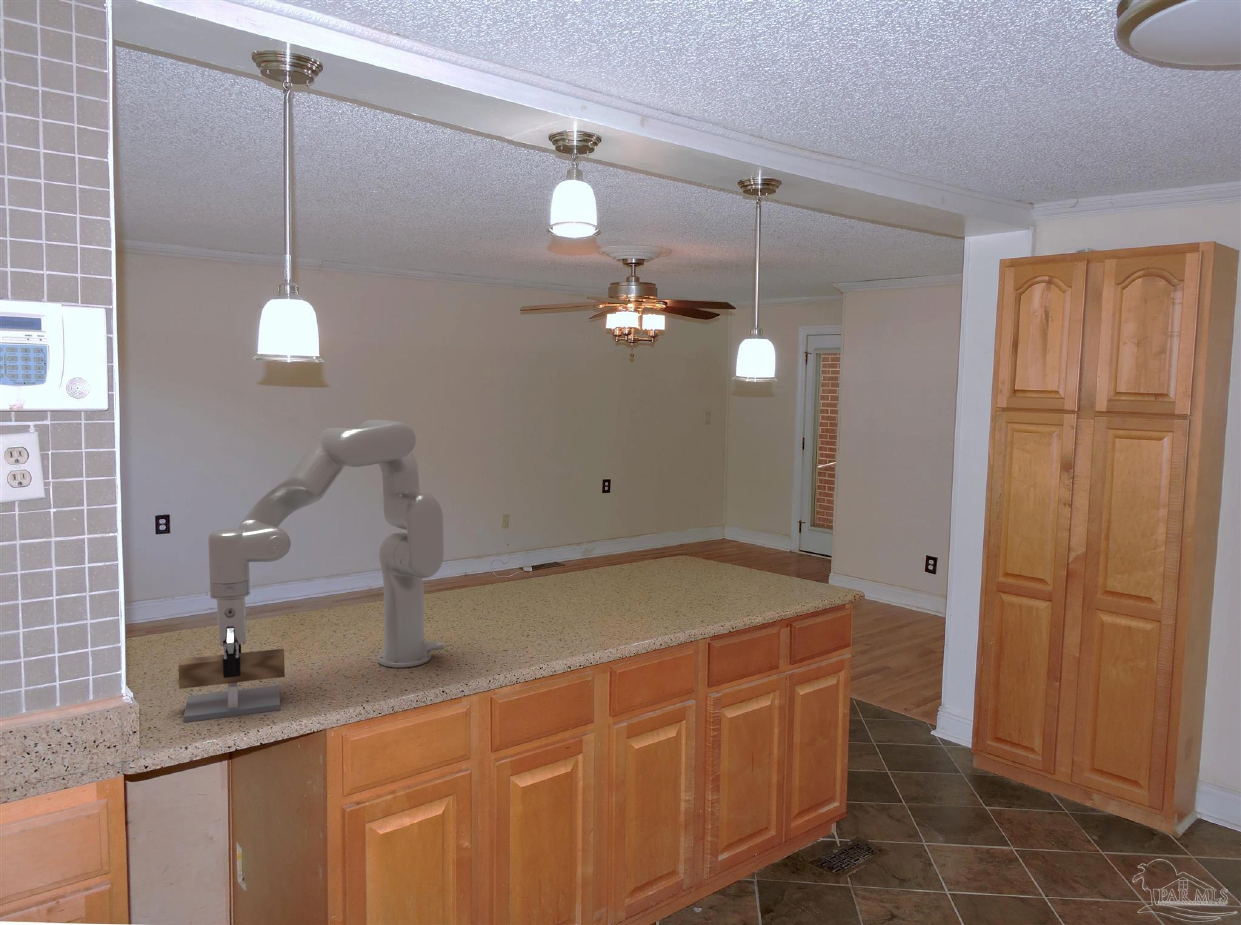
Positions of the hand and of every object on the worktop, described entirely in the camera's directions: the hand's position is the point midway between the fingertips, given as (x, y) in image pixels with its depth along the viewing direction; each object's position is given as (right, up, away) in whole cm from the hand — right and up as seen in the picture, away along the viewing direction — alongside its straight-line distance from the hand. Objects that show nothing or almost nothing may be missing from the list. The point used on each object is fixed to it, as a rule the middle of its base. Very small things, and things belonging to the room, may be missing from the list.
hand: (232, 669), depth 178 cm
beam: (0, -2, 0) cm, 2 cm away
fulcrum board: (0, -8, +1) cm, 8 cm away
